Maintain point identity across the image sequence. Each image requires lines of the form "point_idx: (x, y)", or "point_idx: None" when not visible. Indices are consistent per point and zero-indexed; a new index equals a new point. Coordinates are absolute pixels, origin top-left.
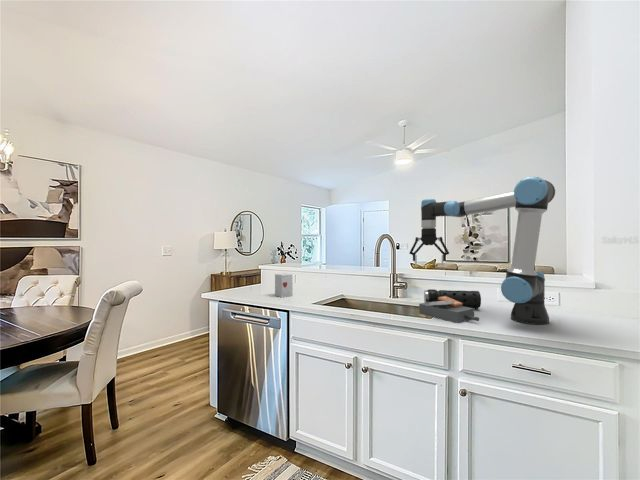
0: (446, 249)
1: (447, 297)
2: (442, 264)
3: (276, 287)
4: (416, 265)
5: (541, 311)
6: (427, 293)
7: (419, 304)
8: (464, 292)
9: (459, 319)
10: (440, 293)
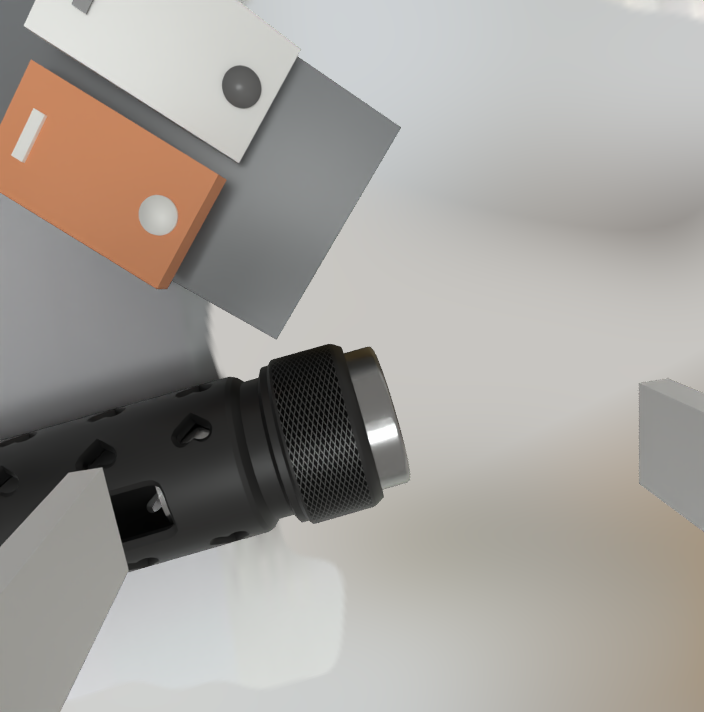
0: None
1: (133, 248)
2: (54, 510)
3: None
4: (668, 396)
5: None
6: (364, 390)
7: (398, 126)
8: None
9: None
10: (234, 423)
